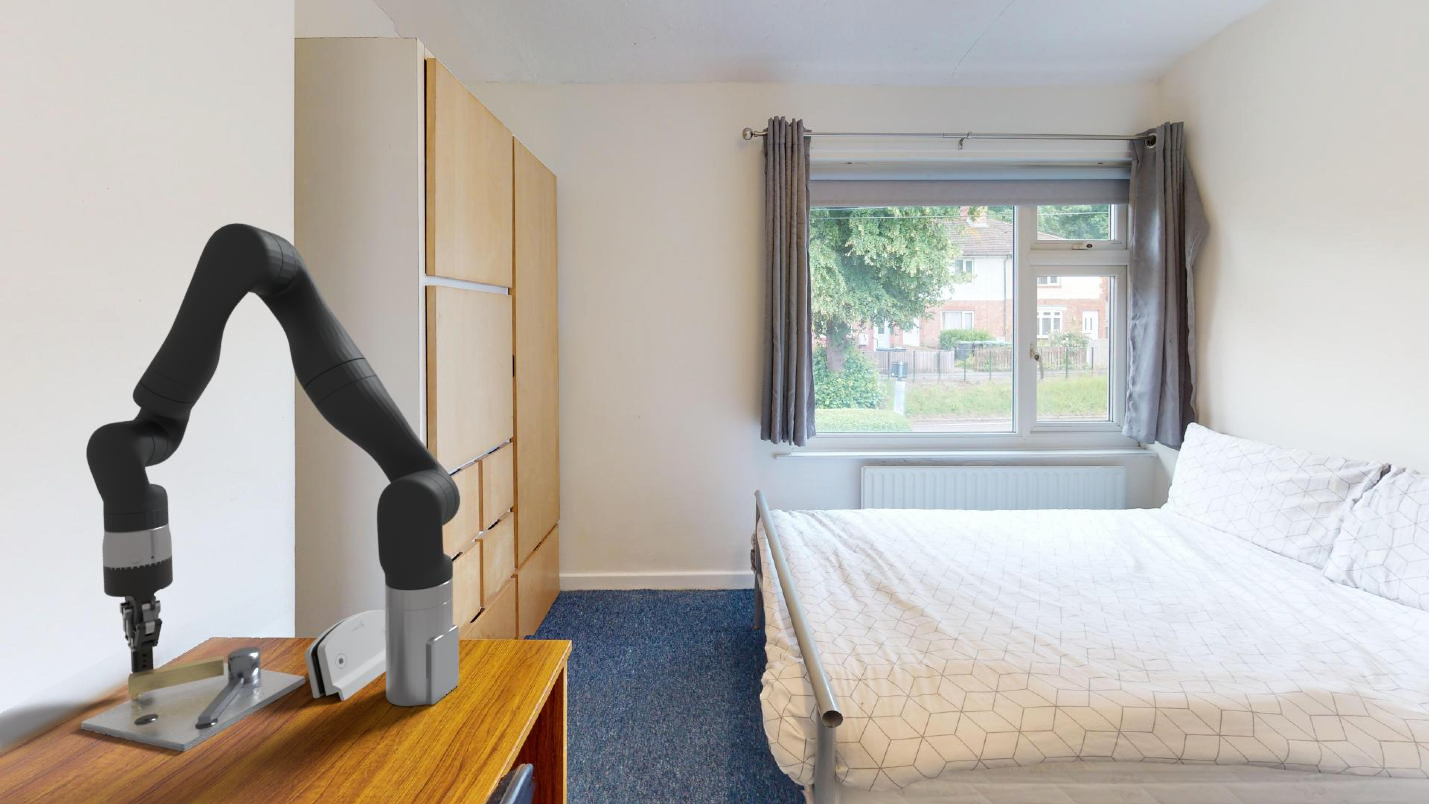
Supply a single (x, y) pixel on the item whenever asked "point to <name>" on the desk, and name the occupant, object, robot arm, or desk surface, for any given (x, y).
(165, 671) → the leg
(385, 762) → the desk surface
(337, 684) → the light grey curved piece
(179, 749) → the mounting plate
